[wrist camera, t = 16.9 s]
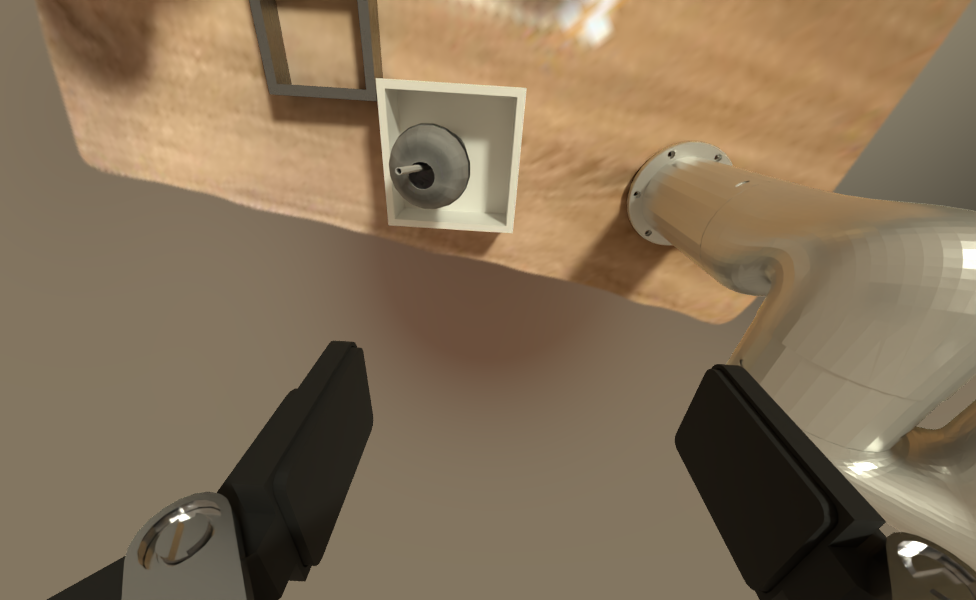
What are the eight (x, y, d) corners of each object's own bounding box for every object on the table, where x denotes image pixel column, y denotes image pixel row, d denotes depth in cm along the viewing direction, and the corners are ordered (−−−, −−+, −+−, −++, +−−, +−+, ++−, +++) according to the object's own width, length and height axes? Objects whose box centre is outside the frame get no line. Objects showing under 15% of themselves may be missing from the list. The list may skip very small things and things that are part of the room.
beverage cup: (436, 194, 44) (393, 253, 26) (405, 137, 41) (332, 161, 23) (488, 168, 42) (479, 212, 25) (460, 105, 39) (426, 106, 21)
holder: (374, -33, 34) (363, -44, 32) (384, 101, 40) (376, 101, 37) (257, -41, 34) (237, -53, 31) (284, 94, 40) (269, 94, 37)
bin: (522, 89, 39) (526, 87, 34) (511, 218, 46) (512, 233, 41) (392, 81, 39) (375, 78, 34) (400, 211, 46) (388, 225, 41)
